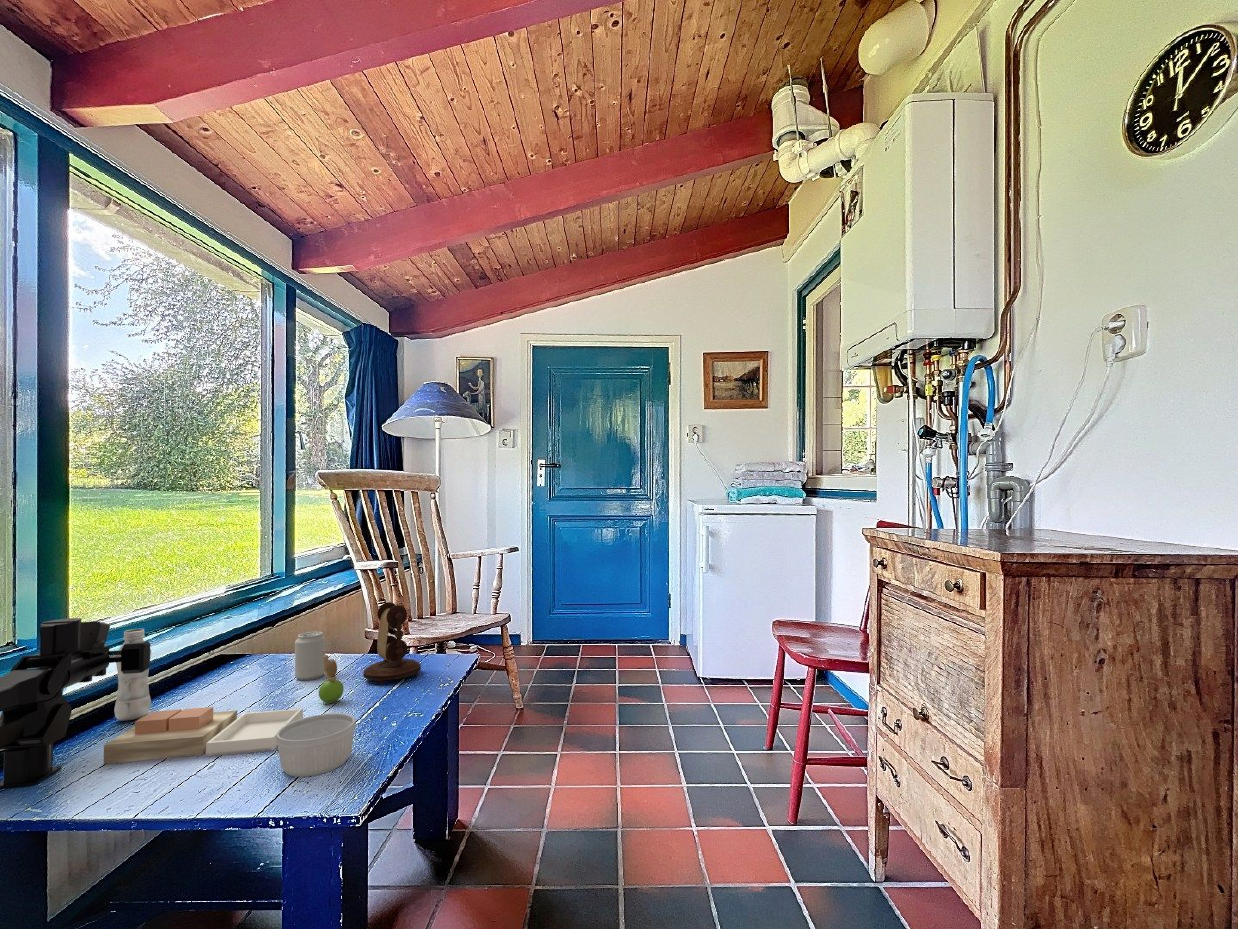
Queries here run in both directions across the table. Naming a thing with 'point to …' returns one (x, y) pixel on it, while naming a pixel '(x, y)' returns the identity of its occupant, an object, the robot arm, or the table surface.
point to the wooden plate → (165, 741)
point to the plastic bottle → (132, 686)
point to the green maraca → (330, 682)
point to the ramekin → (315, 744)
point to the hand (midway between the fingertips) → (123, 649)
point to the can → (309, 655)
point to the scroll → (391, 647)
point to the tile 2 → (191, 719)
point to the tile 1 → (155, 722)
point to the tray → (252, 732)
